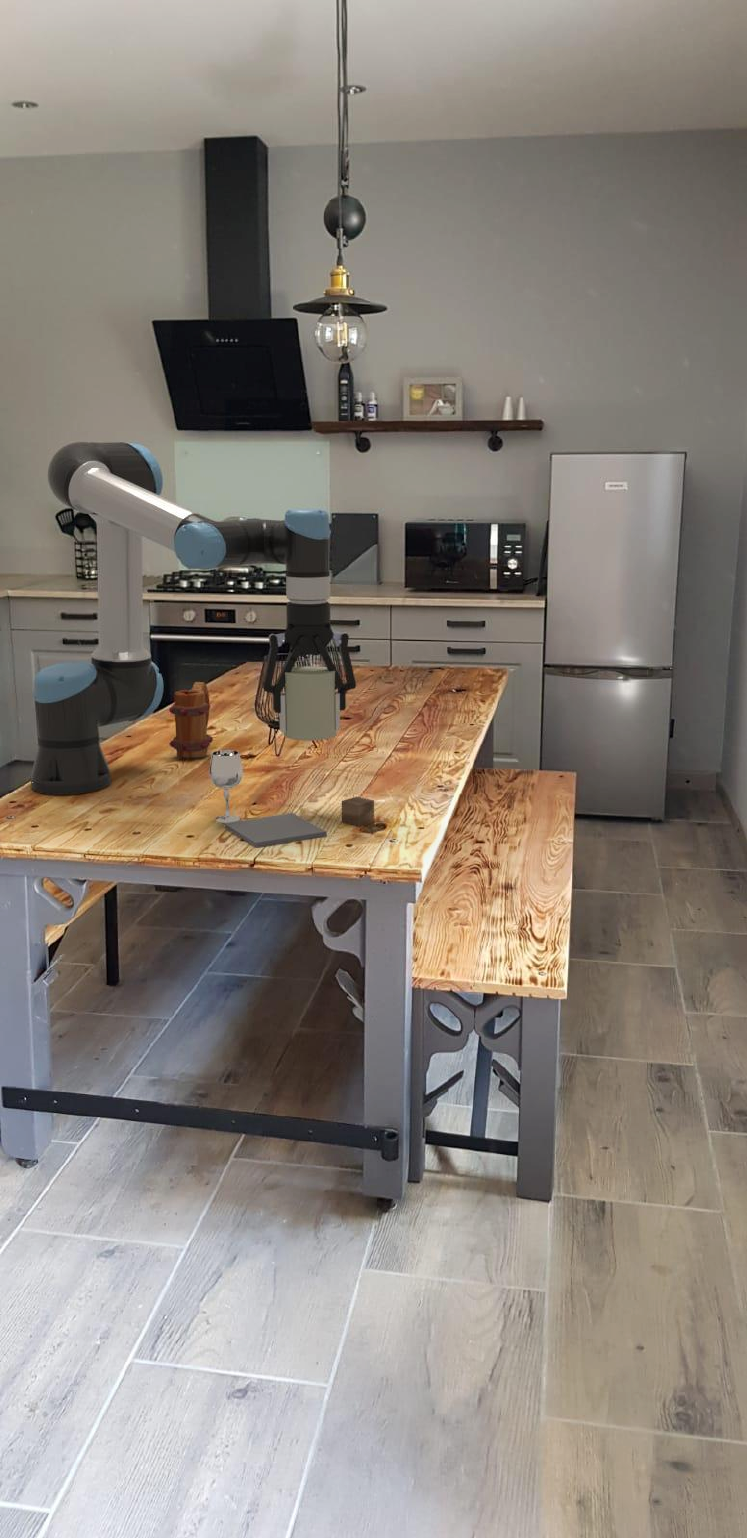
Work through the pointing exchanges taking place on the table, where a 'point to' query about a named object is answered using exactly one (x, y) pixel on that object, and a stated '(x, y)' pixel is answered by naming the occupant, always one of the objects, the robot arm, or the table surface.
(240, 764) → the wineglass
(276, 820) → the coaster
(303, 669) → the can
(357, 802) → the walnut block
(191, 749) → the mug
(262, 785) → the table surface
